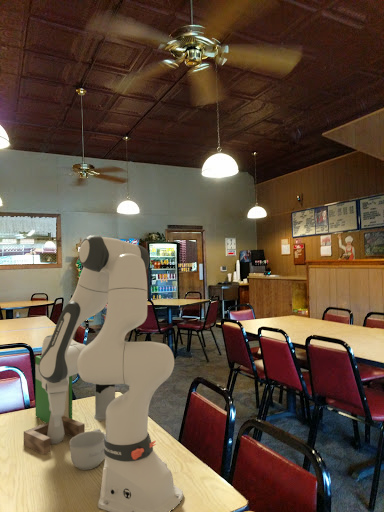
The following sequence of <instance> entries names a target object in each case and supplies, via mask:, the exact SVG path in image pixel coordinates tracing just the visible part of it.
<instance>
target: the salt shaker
mask: <svg viewBox="0 0 384 512" xmlns="http://www.w3.org/2000/svg"><path fill="white" fill-rule="evenodd" d="M49 411H51V408H50V406H49ZM65 435H66V434H65V431H64V427H63V422H62V416H61V418H60V426H58V427H55V426H54V417H53V416H52V412H51V415H50V420H49V426H48V432H47V437H50V438H51V445H55V444H56V445H57V444H60V443H61V442H63V440H64V437H65Z"/></svg>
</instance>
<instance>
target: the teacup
mask: <svg viewBox="0 0 384 512" xmlns="http://www.w3.org/2000/svg"><path fill="white" fill-rule="evenodd" d="M105 436H106V432H103V431H102V430H101V429H100V428H95V429H94V430H89V431H85V432H84V433H81V434H78V435H76V436H74V437H71V439H70V440H69V443H68V444H69V452H70V453H69V454H70V460H71V463H72V464H73V466H74V467H76V468H77V469H80V470H84V471H85V470H86V471H87V470H91V469H95V468H97V467H98V466H99V465H101V463H102V462H103V461H105V456H106V455H105V453H104V438H105Z"/></svg>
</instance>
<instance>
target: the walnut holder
mask: <svg viewBox="0 0 384 512" xmlns="http://www.w3.org/2000/svg"><path fill="white" fill-rule="evenodd" d="M62 422H63V427H64V431H65V434H64V435H68V436H70V437H71V438H73V437H74V436H76V435H78V434H81V433H84V432H86V430H85V423H84V422H82V421H78V420H75V419H73V418H72V419H70V418H68V417H65V416H63V417H62ZM48 426H49V422H48V423H45V422H44V423H43V424H40V425H38V426H35V427H31V428H30V429H27V430H24V431H23V446H25V447H27V448H29V449H30V450H33V451H35V452H37V453H38V454H41V455H43V456H45V455H47V454H49V453H51V452H52V451H51V450H52V449H51V446H52V444H51V438H50V437H47V432H48Z"/></svg>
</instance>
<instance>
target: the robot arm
mask: <svg viewBox="0 0 384 512" xmlns="http://www.w3.org/2000/svg"><path fill="white" fill-rule="evenodd" d="M78 261H79V263H80V264H81V265H82V270H81V272H80V275H79V278H78V282H77V285H76V288H75V290H74V292H73V295H72V296H71V298H70V300H69V301H68V303H67V304H66V305H65V306H64V308H63V309H62V311H61V314H60V316H59V317H58V320H57V322H56V326H55V328H54V331H53V333H52V334H50V335H47V336H45V337H44V338H43V342H42V345H41V355H42V356H41V358H40V361H39V372H40V374H41V376H42V388H44V389H45V390H46V392H47V393H48V400H49V404H50V408H51V412H52V416H53V417H54V426H55V427H58V426H60V418H61V416H63V415H64V411H65V401H66V391H67V390H68V384H69V377H70V376H72V377H73V376H75V375H77V374H78V375H79V377H80V379H81V380H82V381H83V382H85V383H88V384H89V383H90V384H92V385H93V384H95V385H96V384H99V385H111V384H115V385H127V386H128V390H127V391H126V392H124V393H123V394H121V395H119V396H118V397H117V396H116V397H115V399H114V400H113V401H111V402H110V404H109V405H108V407H107V409H106V420H105V434H106V436H105V438H104V453H105V455H106V456H105V458H104V464H103V469H102V479H101V487H100V490H99V499H98V502H97V503H98V504H97V507H98V509H101V510H104V511H107V512H169V511H170V510H172V509H173V508H175V507H176V506H177V505H178V504H179V505H180V504H181V502H182V501H181V500H183V497H184V491H183V490H182V489H181V488H179V487H178V486H176V485H175V483H174V477H173V474H172V471H171V469H169V467H168V465H167V463H166V462H165V461H163V460H162V459H161V457H159V455H158V454H157V453H156V452H155V450H154V446H156V445H157V444H156V440H153V441H152V439H151V436H150V434H149V432H148V431H149V430H148V424H149V408H150V404H151V400H152V397H153V396H154V393H156V391H157V390H158V388H159V387H160V386H161V385H162V384H163V383H164V382H166V381H167V380H168V379H169V378H170V376H171V375H172V373H173V370H174V367H175V357H174V353H173V351H172V349H171V348H170V347H169V346H168V345H167V344H166V343H161V342H157V341H150V340H149V341H126V340H125V338H126V336H127V334H128V333H129V332H131V331H132V330H134V329H136V328H138V327H139V326H141V325H143V324H144V323H145V322H146V319H147V317H148V278H147V276H148V275H147V269H148V268H149V264H150V255H149V251H148V250H147V249H146V248H145V247H143V246H142V245H139V244H136V243H135V244H134V243H131V242H127V241H125V240H121V239H119V238H114V237H105V236H102V235H89V236H86V237H85V238H84V239H83V241H82V242H81V244H80V246H79V250H78ZM106 305H107V306H106ZM105 308H106V313H105V319H104V323H103V325H102V327H101V329H100V330H99V332H98V334H97V335H96V337H94V339H93V340H92V341H90V342H89V343H88V344H85V343H80V342H77V341H76V340H74V339H73V338H74V336H75V333H76V331H77V330H78V328H79V327H80V326H81V325H82V324H83V323H84V322H85V321H86V320H88V319H90V318H91V317H93V316H95V315H97V314H98V313H100V312H101V311H103V310H104V309H105ZM180 501H181V502H180ZM179 505H178V506H179ZM178 506H177V507H178ZM177 507H176V508H177ZM176 508H175V509H176Z"/></svg>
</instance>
